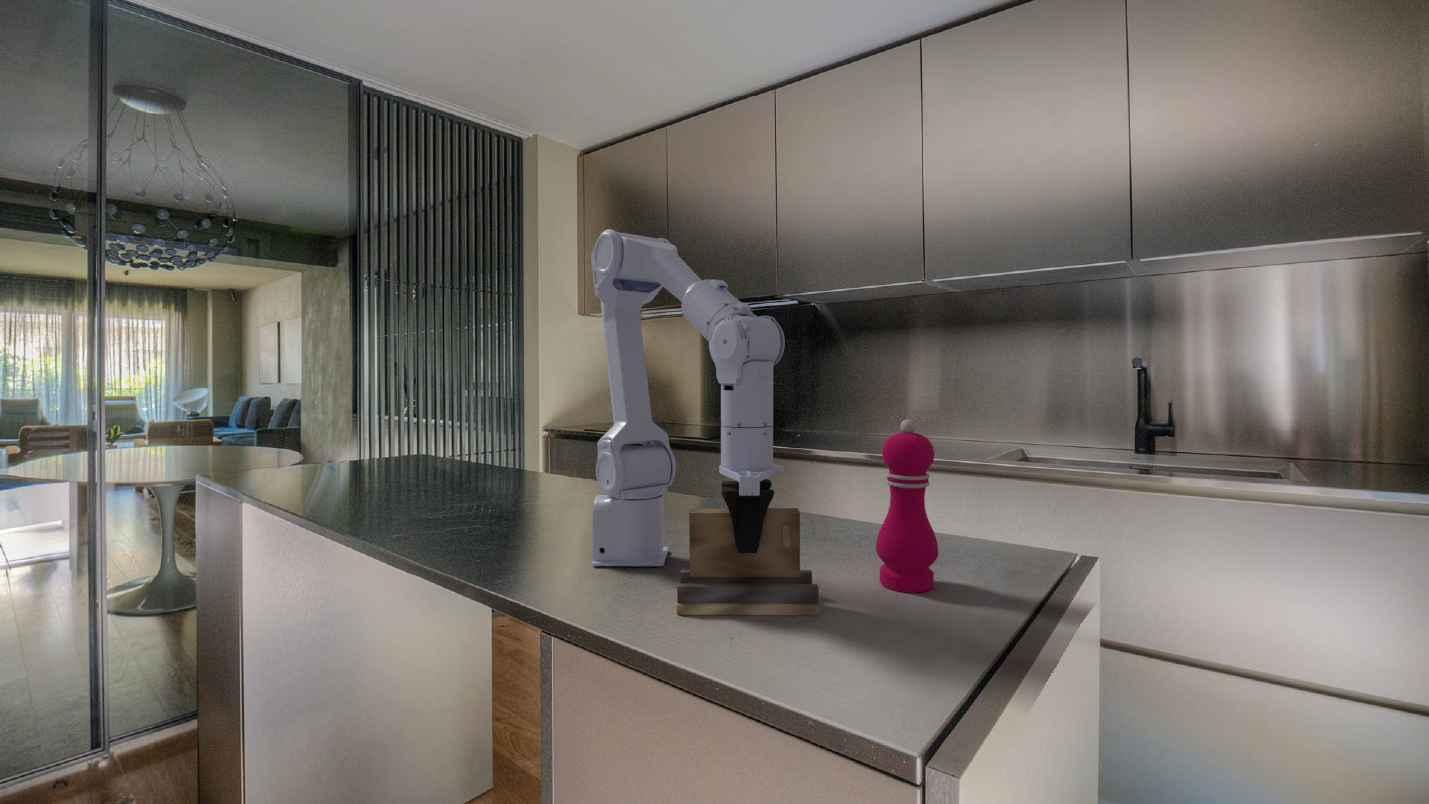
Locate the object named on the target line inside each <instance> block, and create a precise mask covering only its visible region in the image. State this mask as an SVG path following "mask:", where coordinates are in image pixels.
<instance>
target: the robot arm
mask: <svg viewBox="0 0 1429 804" xmlns="http://www.w3.org/2000/svg"><path fill="white" fill-rule="evenodd" d="M678 252H679V251H678V247H677V246H676V245H675V244H672V243H671V241H669V240H668V239H666V238H663V237H658V238H656V237H655V238H654V237H649V236H643V235H637V234H630V233H626V232H618V231H616V230H615V229H605V230H604V231H603V232H602V233H600V235H599V236H598V238H597V239H596V242H595V244H594V248H593V250H592V252H591V257H590V259H591V269H592V279H593V286H594V295H595V297H596V298H597V299H598V300H599V301H600V307H601V308H600V309H601V310H600V311H601V317H602V329H603V337H604V346H605V355H606V365H607V373H608V381H609V383H608V384H609V390H610V401H611V409H612V417H613V426H611V427H610V429H608V430H607V431H606V432H605V433H604V435H603V436H601V437H600V439H599V440H598V441H597V458H596V459H597V460H596V464H595V477H596V481H597V483H598V485H599V487H600V489H601V490H602V491H603V492H604V494H599V495H596V496H595V498H594V502H593V507H592V519H591V521H592V562H591V566H593V567H663V566H664V564H665V562H666V559H667V556H668V552H669V547H668V546H664V495H665V494H668V490H669V489H668V487H670V486H671V485H672V484H673V482H674V479H675V477H676V472H677V462H676V458H675V455H674V454H673V451H672V448H671V446H670V440H669V434H668V433H667V432H666V431H665V430H663V429H662V428H661V427H660V426H658V425H657V424H656V423H655V422H654V421H653V416H652V409H651V408H652V407H651V400H650V390H649V383H648V382H649V381H648V374H647V366H646V356H645V347H644V339H643V332H642V331H643V330H642V323H641V320H642V319H641V313H640V312H641V309H642V307H643V306H644V305H646V304H648V303H651V302H652V301H653V300H654V298H655V297H656V296H657V295H658V293H659V292H660V291H661V290H662V288H664V289H665V290H666V291H668V292H669V293H670V294H672V295H673V296H674V297H675V298H676V299H678V300H679V302H681V314H682V316H683V317H684V319H685V320H686V321H687V322H688V323H689V324H690V325H691V326H692V327H694V329H695V330H697V332H699V334H701V336H703V338H704V339H706V341H708V350H709V353H710V354H709V355H710V357H711V360H712V361H713V363H714V364H715V365H714V366H715V372H716V373H715V374H716V379H717V383H718V384H720V425H721V426H720V465H719V467H718V468H719V469H718V471H719V472H718V473H719V474H720V475H722V476H724V477H725V478H726V477H727V478H729V479H731V480H725V481H722V482H721V490H720V491H721V492H720V493H721V495H722V498H723V501H724V502H725V504H726V506H727V508H728V509H729V512H730V515H731V519H732V524H733V530H734V537H735V543H736V547H737V551H738V553H757V551H758V547H759V543H760V538H761V532H762V526H763V522H764V518H765V514H766V511H767V509H768V508H769V506H770V505H771V503H772V500H773V498H774V496H775V491H774V489H772V480H771V479H769V477H771V476H772V475H774V474H783V473H784V472H785V466H784V465H783V464H774V367H775V366H776V365H777V364H778V363H779V362H780V360H781V359H782V356H783V354H784V351H785V343H786V342H785V334H784V331H783V329H782V327H781V326H780V324H779V323H778V322H777V320H776V319H775V317H773V316H769V315H759V316H757V315H756V314H754V313H753V312H752V310H751V309H752V308H751V306H750V305H749V304H748V303H747V302H741V301H740V300H739V299H738V298H737V297H735V296H734V295H733V294H732V293H731V292H730V291H728V287H729V285H728V283H726V282H725V281H724V280H722V279H703V280H702V279H701V278H700V277H699V276H698V275H697V274H696V273H695V271H694V270H692V268H691V267H689V265H688V264H687V263H686V262H685V261H684V260H683V259H682V257H680V256H679V254H678ZM635 444H642V445H639V446H629V447H623V446H624V445H635Z"/></svg>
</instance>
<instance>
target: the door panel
mask: <svg viewBox="0 0 1429 804" xmlns="http://www.w3.org/2000/svg"><path fill="white" fill-rule="evenodd" d="M688 516H689V520H688V521H689V570H690V577H800V570H801V512H800V510H799V509H798V507H795V508H794V507H791V508H790V507H779V508H778V507H773V508H772V507H771V508H770V507H768V509H767V511H766V514H765V518H764V522H763V526H762V532H761V538H760V543H759V547H758V551H757V553H738V551H737V547H736V543H735V537H734V530H733V524H732V519H731V515H730V512H729V509H728V507H726V508H710V507H708V508H705V507H704V508H696V507H695V508H690V510H689V513H688Z"/></svg>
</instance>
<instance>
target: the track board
mask: <svg viewBox="0 0 1429 804" xmlns="http://www.w3.org/2000/svg"><path fill="white" fill-rule="evenodd" d="M679 575H680V578H679V579H680V581H679V582H680V583H677V586H676V587H677V588H676V590H677V591H676V593H677V597H676V598H677V599H676V601H677V604H676V615H678V616H679V615H681V616H682V615H683V616H684V615H685V616H686V615H687V616H691V615H692V616H696V615H697V616H700V615H701V616H820V605H819V585H818V584H817V583H813V572H812V570H810V569H809V570H808V569H800V577H690V569H681V570H680V574H679Z"/></svg>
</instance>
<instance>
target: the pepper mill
mask: <svg viewBox="0 0 1429 804" xmlns="http://www.w3.org/2000/svg"><path fill="white" fill-rule="evenodd" d="M916 429H917V424H916V423H915V422H914V420H912V419H910V418H909V419H904V420H902V422H901V424H900V430H901V432H898V433H895V434H892V435H891V436H889V437H888V438H887V439H886V440H885V441H884V442H883V443H884V444H883V446H882V449H881V457H882V461H883V463H884V465H885V466H886V467H887V469H888V471H887V472H886V473H885V476H886V480H885V483H886V484H887V486H889V493H890V499H889V507H888V511H887V513H886V516H885V518H884V521H883V522H882V524H881V527H880V529H879V531H878V534H877V537H876V544H875V551H876V554H877V556H878V557H879V559H880V560H881V562H882V563H883V565H881V566H880V567H879V583H880V584H881V585H882V587H884V586H885V588H887V589H889V590H891V589H892V590H891V591H896V592H899V591H901V592H900V593H902V592H903V593H908V594H909V593H911V594H912V593H914V594H915V593H919V594H920V593H925V592H929V591H930V590H933V588H934V582H935V581H934V580H935V579H934V577H935V573H934V571H933V570H932V569H931V568H930V567H931V566H932V565H933V564H934V563H935V562H936V561H937V559H938V557H939V544H938V540H937V537H936V534H935V531H934V529H933V527H932V524H931V523H930V520H929V518H928V514H927V511H926V504H925V503H926V502H925V501H926V499H925V496H926V490H927V489H926V488H927V487H929V486H930V482H929V479H930V476H931V475H930V474H929V473H927V471H928V469H929V468H930V467H931V466H933V463H934V460H935V450H934V449H935V448H934V446H933V444H932V443H931V441H930V439H929V438H927V437H926V436H924V434H923V435H922V434H920V433H916V432H915V431H916Z"/></svg>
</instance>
